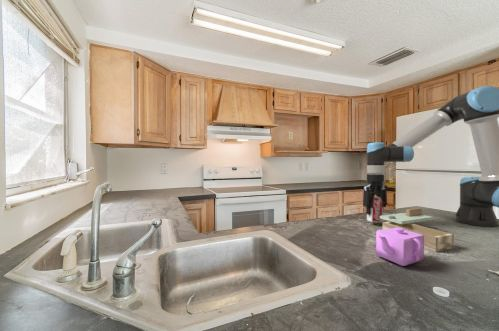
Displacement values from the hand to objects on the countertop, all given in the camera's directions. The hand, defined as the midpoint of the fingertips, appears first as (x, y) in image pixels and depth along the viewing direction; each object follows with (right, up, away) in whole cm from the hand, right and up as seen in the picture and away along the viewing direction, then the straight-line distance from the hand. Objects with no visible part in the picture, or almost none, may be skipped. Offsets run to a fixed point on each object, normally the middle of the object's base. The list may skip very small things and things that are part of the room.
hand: (375, 220), depth 109 cm
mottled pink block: (-16, -3, -39) cm, 42 cm away
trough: (+3, -2, -22) cm, 23 cm away
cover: (+8, +3, -10) cm, 14 cm away
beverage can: (0, -1, 0) cm, 1 cm away
